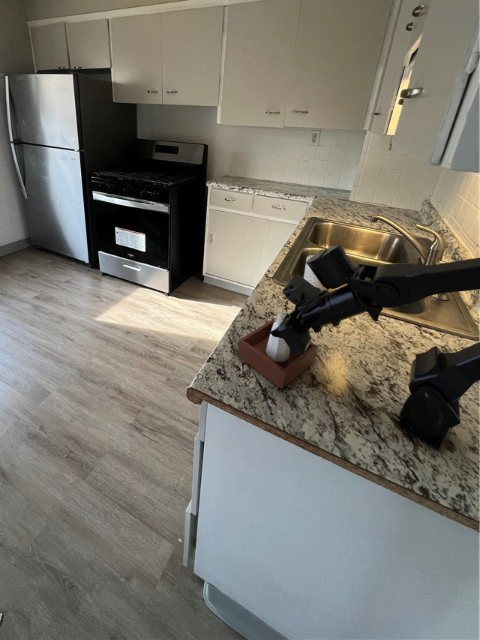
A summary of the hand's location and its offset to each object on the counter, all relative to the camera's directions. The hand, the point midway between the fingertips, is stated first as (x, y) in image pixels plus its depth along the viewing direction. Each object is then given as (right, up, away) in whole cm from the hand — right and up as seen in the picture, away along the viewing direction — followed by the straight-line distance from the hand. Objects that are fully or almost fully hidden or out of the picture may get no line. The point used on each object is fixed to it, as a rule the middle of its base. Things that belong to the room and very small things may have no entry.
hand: (275, 329), depth 70 cm
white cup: (+21, +6, +33) cm, 40 cm away
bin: (+1, -7, +3) cm, 8 cm away
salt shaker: (+1, -6, +2) cm, 7 cm away
